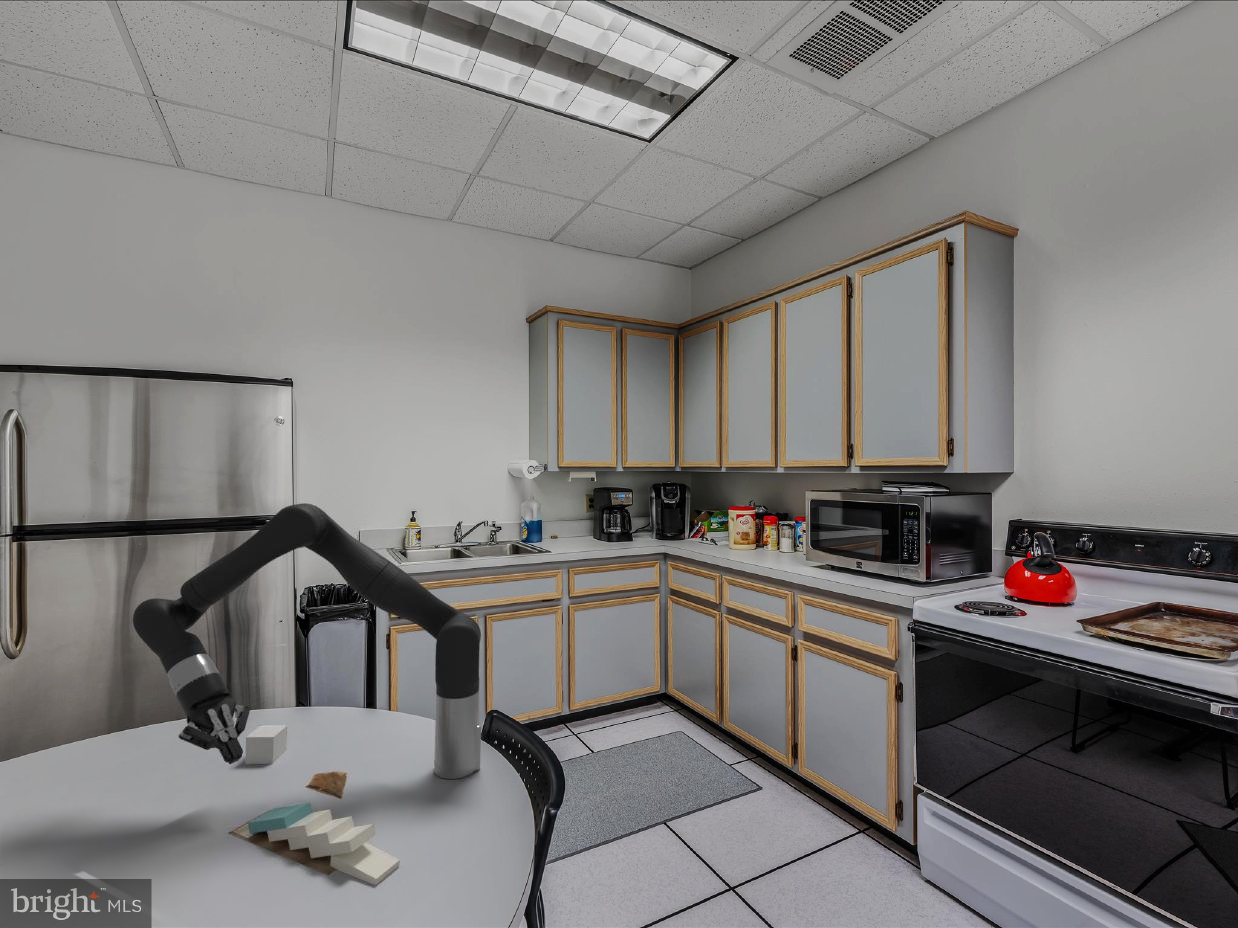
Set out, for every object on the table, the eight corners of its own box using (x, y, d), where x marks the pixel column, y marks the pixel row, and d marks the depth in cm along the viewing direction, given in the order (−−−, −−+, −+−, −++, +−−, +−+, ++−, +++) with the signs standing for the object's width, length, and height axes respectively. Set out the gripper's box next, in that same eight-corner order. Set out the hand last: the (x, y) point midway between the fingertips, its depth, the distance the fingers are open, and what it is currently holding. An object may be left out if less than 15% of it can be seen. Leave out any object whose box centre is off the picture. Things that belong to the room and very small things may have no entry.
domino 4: (331, 854, 96) (376, 878, 92) (355, 837, 101) (399, 859, 97) (330, 865, 96) (375, 889, 92) (354, 847, 101) (398, 870, 97)
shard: (341, 804, 116) (341, 795, 116) (298, 811, 114) (298, 801, 114) (348, 777, 126) (348, 769, 126) (308, 782, 124) (309, 773, 124)
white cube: (286, 751, 137) (287, 725, 137) (272, 763, 131) (273, 736, 131) (259, 751, 136) (260, 725, 136) (245, 763, 130) (245, 736, 130)
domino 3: (308, 846, 98) (349, 840, 95) (333, 830, 103) (373, 823, 99) (311, 858, 98) (351, 851, 94) (336, 840, 103) (376, 834, 99)
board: (228, 837, 104) (228, 832, 104) (270, 813, 112) (270, 808, 112) (328, 879, 94) (328, 873, 94) (367, 850, 102) (367, 845, 102)
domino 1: (267, 830, 103) (304, 824, 99) (293, 815, 107) (330, 809, 103) (269, 841, 102) (307, 835, 99) (295, 825, 107) (332, 819, 103)
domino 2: (287, 839, 101) (326, 832, 97) (313, 823, 105) (351, 816, 101) (290, 850, 100) (329, 843, 97) (315, 833, 105) (354, 826, 101)
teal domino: (247, 822, 105) (284, 817, 101) (274, 808, 109) (309, 802, 105) (249, 833, 104) (286, 827, 101) (276, 818, 109) (311, 812, 105)
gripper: (169, 683, 108) (209, 765, 103) (240, 662, 120) (279, 734, 115) (151, 706, 110) (189, 788, 105) (222, 683, 122) (260, 755, 117)
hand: (236, 760), depth 110 cm, fingers closed
